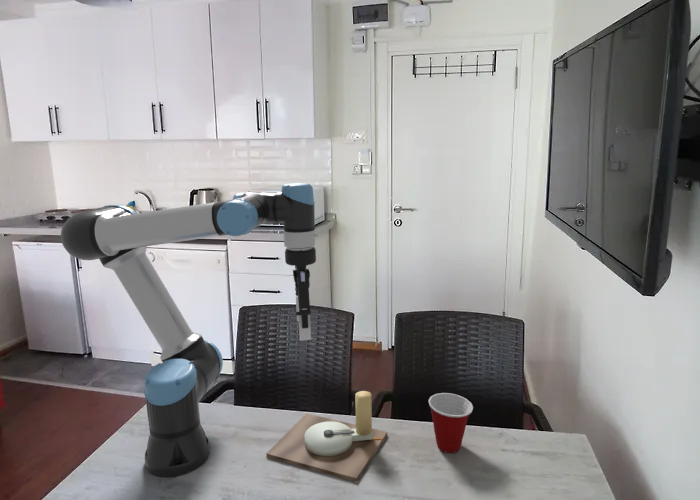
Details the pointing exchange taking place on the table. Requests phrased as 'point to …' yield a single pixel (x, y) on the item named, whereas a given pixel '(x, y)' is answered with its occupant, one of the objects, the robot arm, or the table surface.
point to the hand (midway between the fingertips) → (303, 329)
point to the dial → (341, 430)
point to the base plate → (338, 465)
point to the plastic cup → (449, 420)
